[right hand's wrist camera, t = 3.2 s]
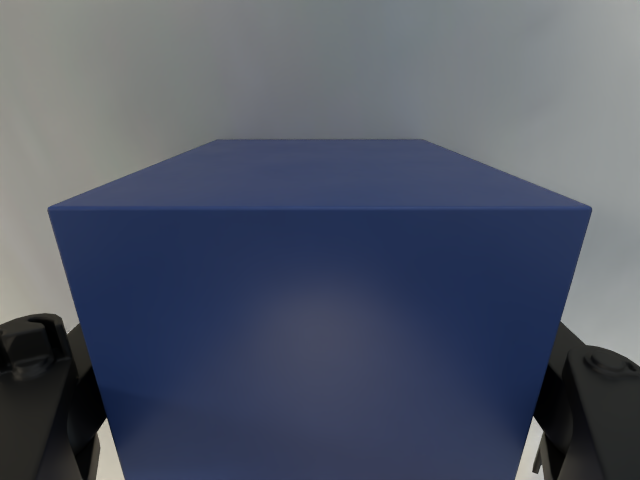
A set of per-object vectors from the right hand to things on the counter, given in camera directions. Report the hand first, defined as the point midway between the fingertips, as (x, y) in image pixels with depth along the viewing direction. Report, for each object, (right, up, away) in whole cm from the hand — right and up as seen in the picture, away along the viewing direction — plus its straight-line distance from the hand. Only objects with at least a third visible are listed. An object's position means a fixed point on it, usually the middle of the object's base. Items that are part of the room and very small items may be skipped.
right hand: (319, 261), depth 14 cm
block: (0, +1, +2) cm, 2 cm away
